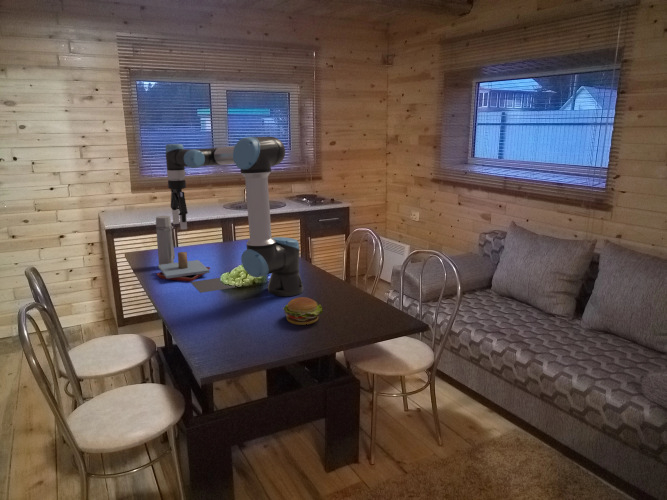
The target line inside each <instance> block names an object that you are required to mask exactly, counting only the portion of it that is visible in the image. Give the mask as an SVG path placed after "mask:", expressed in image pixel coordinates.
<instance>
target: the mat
mask: <svg viewBox="0 0 667 500" xmlns="http://www.w3.org/2000/svg"><path fill="white" fill-rule="evenodd" d="M220 278H221V277H216V278H210V279H208V278H207V279H203V280H193V281H189V283H190V284H191V285H192V286H193V287H195V289H196V290H197V291H198V292H199V293H201V294H202V293H207V292H215V291H220V290H227V289H234V288H236V287H235V286H236V285H235V286H229V285H225V284H223V283H222V282H221V281H220Z"/></svg>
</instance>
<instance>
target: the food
mask: <svg viewBox="0 0 667 500" xmlns="http://www.w3.org/2000/svg"><path fill="white" fill-rule="evenodd" d="M282 309H283V312H284V314H285V317H286V320H287V322H288V323H290V324H293V325H298V326H299V325H300V326H306V324H307V325H311V324H313V323H314V324H315V323H316V322H317V321H318V320H319V315H321V314H322V313H323V312H324V311H323V307H322V305H321V304H320V303H319V304H318V302H317V301H316V300H314V299H313V298H312V299H311V297H306V296H304V297H303V296H302V297H301V296H300V297H296V298H293V299H291V300H290V301H289V302H288V303H287V304H286V305H285V306H284V307H282Z"/></svg>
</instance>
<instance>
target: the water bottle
mask: <svg viewBox="0 0 667 500" xmlns="http://www.w3.org/2000/svg"><path fill="white" fill-rule="evenodd" d="M155 228H156V243H157V254H158V255H157V257H158V265H162V264H170V263H175V262H174V261H175V249H174V248H175V247H174V241H173V233H172V229H174V226H173V225H172V222H171V216H170V215H158V216H156V217H155Z"/></svg>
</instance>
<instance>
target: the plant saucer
mask: <svg viewBox="0 0 667 500" xmlns="http://www.w3.org/2000/svg"><path fill="white" fill-rule="evenodd" d="M205 267H206V268H207V269H208V270H209V271H210V269H211V267H210V266H205ZM205 274H206V273H204V274H196V275H194V276H193V277H187V276H182V277H174V278H166V277H165V276H164V274H163V273H162V272H161V271H160V272H158V273H156V276H157V277H158V278H160V279H162V280H163V279H164V280H172V281H179V282H180V281H182V282H194V281H196V280H197V279H198V278H200V277H202V276H204V275H205Z"/></svg>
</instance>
